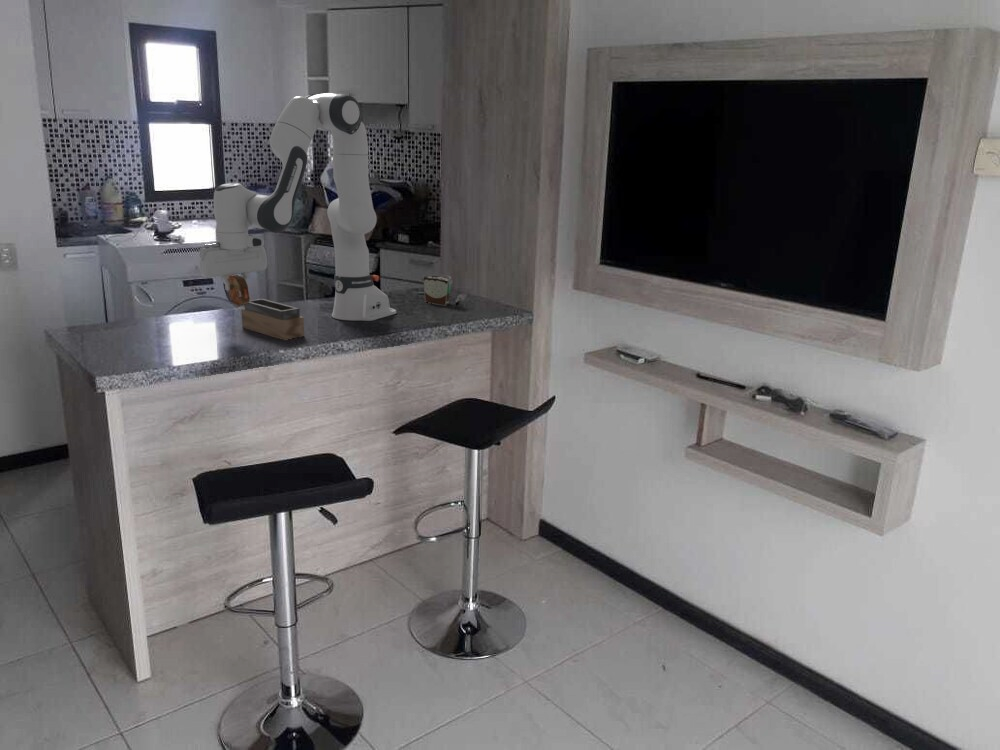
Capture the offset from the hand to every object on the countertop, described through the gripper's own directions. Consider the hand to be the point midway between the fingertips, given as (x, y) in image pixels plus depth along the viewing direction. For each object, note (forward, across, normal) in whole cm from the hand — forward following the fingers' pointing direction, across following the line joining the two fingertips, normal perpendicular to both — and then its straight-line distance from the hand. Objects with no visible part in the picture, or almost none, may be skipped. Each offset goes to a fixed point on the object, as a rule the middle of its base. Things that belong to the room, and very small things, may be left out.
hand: (235, 288), depth 235 cm
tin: (+4, +1, 0) cm, 5 cm away
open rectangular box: (+15, +12, 0) cm, 19 cm away
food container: (+16, +82, -4) cm, 83 cm away
